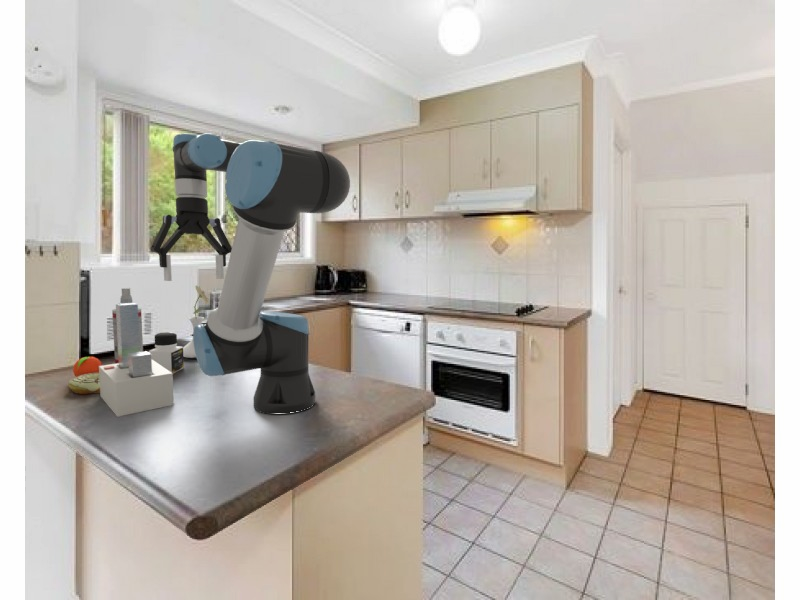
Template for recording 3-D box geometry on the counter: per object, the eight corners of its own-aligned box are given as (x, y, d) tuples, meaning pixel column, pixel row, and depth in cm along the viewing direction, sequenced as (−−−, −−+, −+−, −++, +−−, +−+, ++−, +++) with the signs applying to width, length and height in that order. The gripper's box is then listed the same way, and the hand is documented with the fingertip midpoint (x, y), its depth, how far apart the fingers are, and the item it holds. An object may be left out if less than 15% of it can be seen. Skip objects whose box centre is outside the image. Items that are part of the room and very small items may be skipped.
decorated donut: (96, 397, 115) (95, 383, 114) (59, 394, 116) (58, 380, 115) (126, 384, 125) (125, 371, 124) (91, 382, 126) (90, 369, 126)
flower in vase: (212, 359, 153) (210, 287, 150) (176, 361, 150) (173, 287, 147) (217, 351, 165) (216, 283, 162) (184, 352, 162) (181, 283, 159)
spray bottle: (125, 369, 138) (121, 289, 135) (110, 366, 142) (105, 288, 139) (148, 364, 145) (145, 287, 142) (133, 361, 149) (130, 286, 146)
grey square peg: (153, 406, 109) (151, 354, 107) (134, 410, 106) (132, 356, 104) (148, 401, 112) (146, 351, 110) (130, 405, 109) (127, 353, 107)
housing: (152, 387, 123) (150, 357, 122) (173, 404, 110) (172, 371, 109) (100, 396, 115) (98, 364, 114) (117, 416, 102) (115, 381, 101)
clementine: (91, 385, 123) (90, 360, 122) (65, 385, 123) (63, 360, 122) (108, 377, 131) (107, 353, 130) (83, 376, 130) (82, 353, 130)
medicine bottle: (172, 374, 135) (170, 335, 133) (149, 373, 135) (147, 334, 133) (184, 368, 142) (182, 331, 140) (162, 367, 142) (160, 330, 141)
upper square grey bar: (140, 371, 115) (137, 304, 113) (123, 374, 112) (119, 305, 110) (136, 368, 118) (133, 302, 116) (119, 370, 115) (115, 303, 113)
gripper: (230, 203, 127) (232, 277, 129) (133, 194, 109) (137, 280, 111) (243, 201, 122) (246, 278, 124) (144, 191, 104) (149, 282, 106)
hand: (195, 279), depth 118 cm, fingers open, 13 cm apart
